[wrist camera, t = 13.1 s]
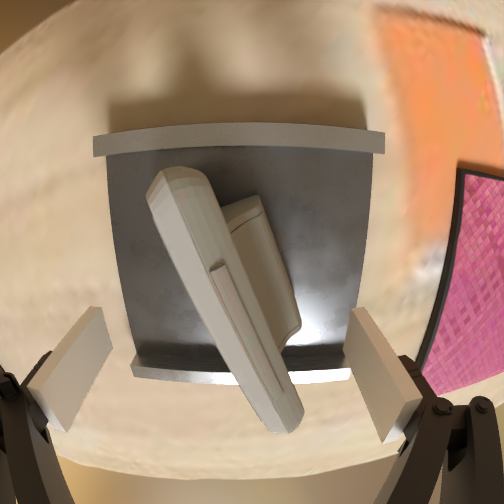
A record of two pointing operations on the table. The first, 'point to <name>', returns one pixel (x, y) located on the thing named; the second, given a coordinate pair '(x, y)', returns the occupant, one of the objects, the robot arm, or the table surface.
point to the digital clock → (233, 286)
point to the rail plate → (280, 220)
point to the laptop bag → (469, 290)
